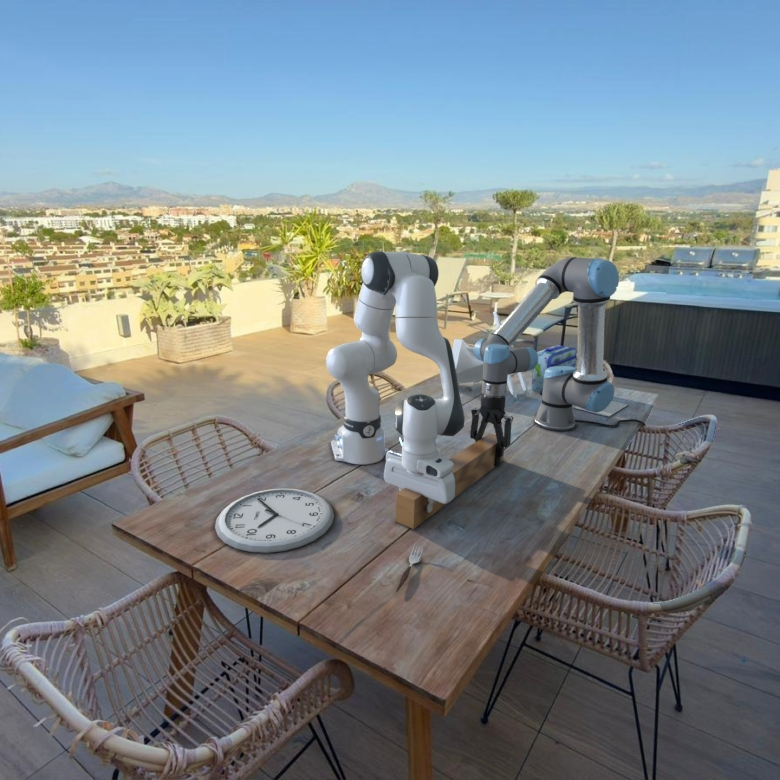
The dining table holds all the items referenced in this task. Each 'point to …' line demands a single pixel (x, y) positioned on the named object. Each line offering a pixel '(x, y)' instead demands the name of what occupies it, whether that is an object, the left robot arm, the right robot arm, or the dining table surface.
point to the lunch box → (551, 363)
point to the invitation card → (608, 408)
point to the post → (465, 472)
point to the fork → (413, 560)
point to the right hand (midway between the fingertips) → (488, 462)
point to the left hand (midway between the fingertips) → (417, 506)
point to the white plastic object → (477, 364)
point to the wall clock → (274, 520)
